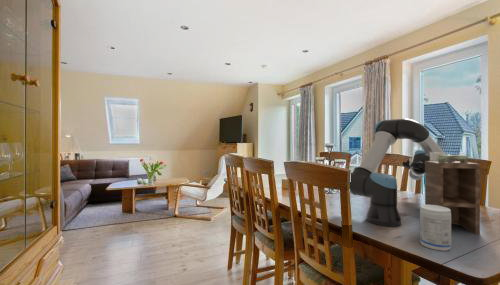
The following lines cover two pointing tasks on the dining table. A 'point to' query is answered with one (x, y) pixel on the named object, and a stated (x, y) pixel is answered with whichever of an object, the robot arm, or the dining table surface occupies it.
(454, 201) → the shelf
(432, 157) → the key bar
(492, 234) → the dining table surface
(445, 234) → the supplement tub
